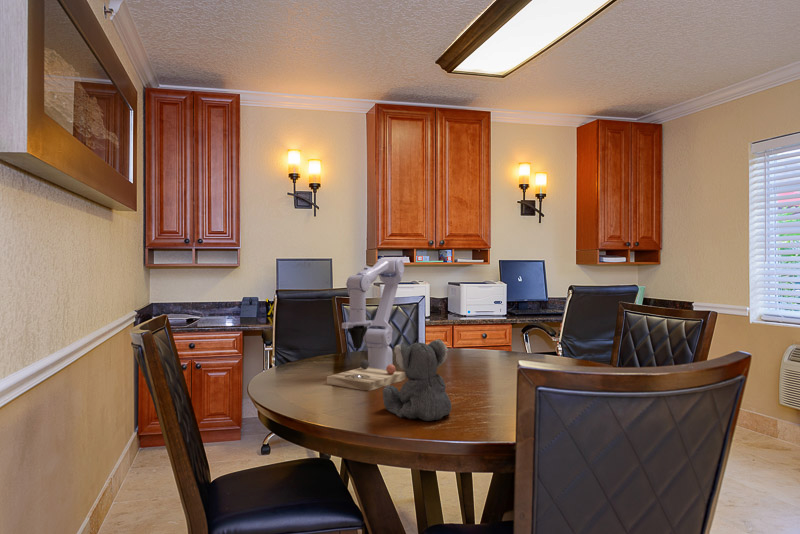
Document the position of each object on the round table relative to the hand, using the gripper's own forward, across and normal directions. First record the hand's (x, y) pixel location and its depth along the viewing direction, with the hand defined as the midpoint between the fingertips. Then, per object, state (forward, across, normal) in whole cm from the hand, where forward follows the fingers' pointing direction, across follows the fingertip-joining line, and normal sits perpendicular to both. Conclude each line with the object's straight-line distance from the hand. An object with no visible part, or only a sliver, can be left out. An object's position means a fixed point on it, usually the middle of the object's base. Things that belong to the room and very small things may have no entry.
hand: (357, 347), depth 183 cm
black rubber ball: (+6, -4, 0) cm, 7 cm away
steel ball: (+9, +8, +7) cm, 14 cm away
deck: (+10, +3, +7) cm, 13 cm away
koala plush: (+12, +25, +43) cm, 51 cm away
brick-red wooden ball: (+6, -2, +13) cm, 15 cm away
